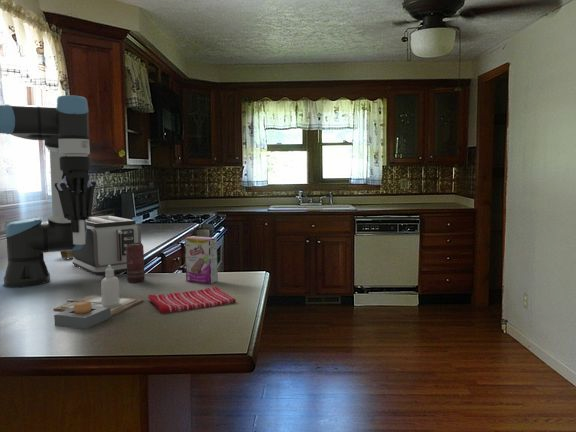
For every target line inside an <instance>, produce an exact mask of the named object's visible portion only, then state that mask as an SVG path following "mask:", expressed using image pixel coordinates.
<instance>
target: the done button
mask: <svg viewBox="0 0 576 432" xmlns="http://www.w3.org/2000/svg"><path fill="white" fill-rule="evenodd" d="M91 311H92V308H91V302H89V301H83V302H77V303H75V304H74V313H76V314H86V313H88V312H91Z"/></svg>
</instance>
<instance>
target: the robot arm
mask: <svg viewBox="0 0 576 432" xmlns="http://www.w3.org/2000/svg"><path fill="white" fill-rule="evenodd" d="M89 112H90V111H89V105H88V100H87V98H86V97H84V96H79V95H74V94H73V95H70V94H67V95H65V94H63V95H59V96H57V98H56V106H53V105H52V106H47V105H12V104H11V105H10V104H0V134H4V135H11V136H13V137H17V138H20V139H25V140H30V141H31V140H32V141H44V146H45V147H46V148H47V149H48V150H49V162H50V163H49V164H50V165H49V166H50V167H49V168H50V188H51V189H50V190H51V191H50V192H51V210H52V212H51V213H50V214H49V215H48V217H47V219H48V220H47V221H43V220H42V218H41V217H33V218H25V219H20V220H16V221H11V222H9V223H8V224H7V225H6V226H5V238H6V251H7V252H6V253H7V266H6V270H5V274H4V277H3V285H4V286H5V287H9V288H10V287H13V288H16V287H17V288H19V287H31V286H38V285H41V284H46V283H48V282H50V281H51V275H50V272H49V270H48V266H47V265H46V261H45V258H44V253H45V254H46V253H56V252H57V253H60V251H73V250H79V249H82V248H83V247H84V245H85V241H86V232H87V230H86V228H87V224H86V220H85V219H87V220H88V219H89V217H92V212H93V211H92V210H93V202H94V194H95V193H94V192H95V188H96V186H97V182H96V180H94V181H93V180H91V178H90V174H89V171H91V168H92V166H91V164H92V163H91V157H90V156H88V155H90V154H91V152H90V128H89V127H90V126H89V123H90V122H89Z"/></svg>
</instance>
